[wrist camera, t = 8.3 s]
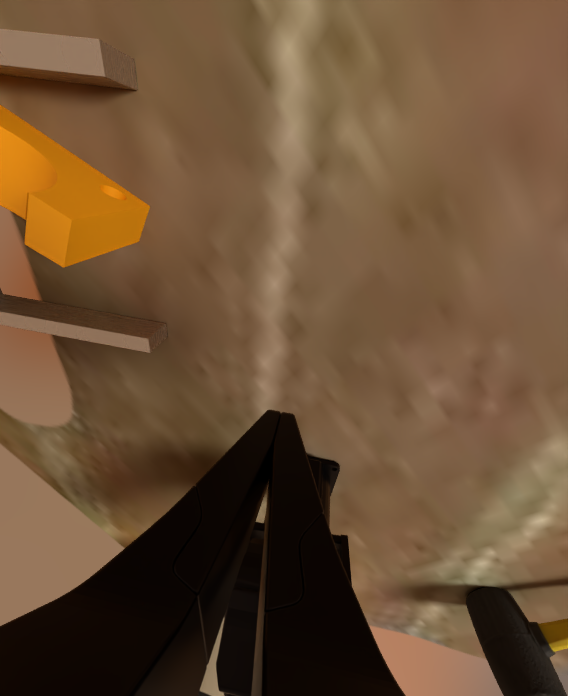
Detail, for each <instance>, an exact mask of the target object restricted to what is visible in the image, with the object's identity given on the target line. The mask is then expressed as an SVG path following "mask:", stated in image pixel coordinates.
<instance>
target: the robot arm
mask: <svg viewBox="0 0 568 696" xmlns="http://www.w3.org/2000/svg"><path fill="white" fill-rule="evenodd" d="M339 471H340V465H339V464H338V463H336V462H331V461H326V460H321V459H317V458H312V457H307V454H306V451H305V448H304V444H303V441H302V438H301V435H300V431H299V428H298V425H297V422H296V418H295V416H294V414H290V413H285V412H282V413H280V412H279V411H274V410H267V411H266V412H265V413H264V414H263V415H262V416H261V417H260V418H259V420H258V421H257V422H256V423H255V424H254V425H253V426H252V427H251V428H250V429H249V430H248V431H247V432H246V433H245V434H244V435H243V436H242V437H241V438H240V439H239V440H238V441H237V442H236V443H235V444H234V445H233V446H232V447H231V448H230V449H229V450H228V451H227V452H226V453H225V454H224V455H223V457H222V458H221V459H220V460H219V461H218V462H217V463H216V464H215V465H214V466H213V467H212V468H211V469H210V470H209V471H208V472H207V473H206V474H205V475H204V476H203V477H202V478H201V479H200V480H199V481H198V482H197V483H196V486H193V487H192V488H191V489H190V490H189V491H188V492H187V493H186V494H185V495H184V496H183V497H182V498H181V499H180V500H179V501H178V502H177V503H176V504H175V505H174V506H173V507H172V508H171V509H170V510H169V511H168V512H167V513H166V514H165V515H164V516H162V517H161V518H160V519H159V520H158V521H157V522H156V523H154V524H153V525H152V526H151V527H150V528H149V529H148V530H146V531H145V532H144V533H143V534H142V535H140V536H139V537H138V538H137V539H136V540H134V541H133V542H132V543H131V544H130V545H128V546H127V547H126V548H125V549H124V550H123V551H122V552H120V553H119V554H118V555H117V556H115V557H114V558H113V559H112V560H111V561H109V562H108V563H107V564H106V565H105V566H104V567H102V568H101V569H100V570H99V571H97V572H96V573H95V574H94V575H93V576H91V577H90V578H89V579H87V580H86V581H85V582H83V583H82V584H81V585H79V586H78V587H76V588H75V589H73V590H71V591H70V592H68V593H66V594H65V595H63V596H61V597H60V598H58V599H56V600H54V601H52V602H50V603H48V604H45V605H43V606H41V607H39V608H37V609H36V610H33V611H31V612H29V613H27V614H25V615H23V616H21V617H18V618H16V619H14V620H12V621H10V622H8V623H6V624H4V625H2V626H0V696H198V694H199V691H200V688H201V685H202V682H203V679H204V676H205V673H206V669H207V665H208V663H209V660H210V657H211V654H212V651H213V648H214V645H215V642H216V639H217V636H218V633H219V630H220V627H221V624H222V621H223V618H225V619H224V624H223V629H222V635H221V640H220V646H219V651H218V656H217V660H216V673H217V682H218V689H219V691H220V692H223V693H224V695H225V696H405V694H404V693H403V691H402V690H401V688H400V687H399V685H398V684H397V682H396V680H395V679H394V677H393V675H392V673H391V672H390V670H389V668H388V666H387V664H386V662H385V660H384V658H383V656H382V654H381V652H380V650H379V648H378V646H377V644H376V641H375V639H374V637H373V634H372V632H371V630H370V627H369V625H368V623H367V620H366V618H365V616H364V613H363V611H362V609H361V607H360V604H359V602H358V600H357V597H356V595H355V593H354V590H353V588H352V582H351V570H350V558H349V546H348V536H347V535H341V536H339V535H333V534H331V532H330V529H329V519H330V496H331V493H332V491H333V488H334V485H335V482H336V479H337V476H338V473H339ZM268 481H269V485H268ZM267 485H268V496H267V508H266V515H265V520H264V523H259V522H255V521H256V518H257V515H258V512H259V509H260V506H261V503H262V500H263V497H264V494H265V491H266V488H267Z"/></svg>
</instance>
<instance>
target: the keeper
mask: <svg viewBox="0 0 568 696" xmlns="http://www.w3.org/2000/svg"><path fill="white" fill-rule="evenodd" d="M0 74H2V75H11V76H19V77H28V78H36V79H45V80H54V81H62V82H71V83H79V84H88V85H97V86H105V87H114V88H122V89H131V90H138V89H137V81H136V73H135V65H134V59H133V58H131V57H130V56H128V55H126V54H124V53H123V52H121V51H119V50H117V49H116V48H114V47H112V46H110V45H108V44H107V43H105V42H103V41H101V40H100V39H93V38H83V37H74V36H64V35H54V34H45V33H35V32H25V31H16V30H6V29H0ZM0 325H4V326H10V327H15V328H20V329H26V330H31V331H36V332H41V333H47V334H52V335H57V336H63V337H68V338H73V339H79V340H84V341H89V342H95V343H100V344H105V345H111V346H116V347H121V348H127V349H132V350H137V351H143V352H148V353H151V352H152V351H153V350H154V349H155V348H156V347H157V346H158V345H159V344H160V343H161V342H162V341H163V340H164V339H165V338H166V337H168V336H167V328H166V323H162V322H156V321H151V320H145V319H139V318H134V317H128V316H122V315H117V314H111V313H106V312H100V311H94V310H89V309H83V308H78V307H72V306H66V305H61V304H55V303H50V302H44V301H38V300H33V299H27V298H22V297H16V296H10V295H4V294H2V291H1V289H0Z"/></svg>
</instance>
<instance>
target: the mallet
mask: <svg viewBox="0 0 568 696" xmlns="http://www.w3.org/2000/svg"><path fill="white" fill-rule="evenodd" d="M466 605H467V608H468V612H469V614H470V617H471V620H472V623H473V626H474V628H475V631H476V634H477V636H478V639H479V641H480V644H481V646H482V649H483V652H484V654H485V656H486V658H487V661H488V663H489V665H490V668H491V670H492V672H493V674H494V676H495V679H496V681H497V683H498V685H499V687H500V689H501V691H502V693H503V695H504V696H567V695H566V692H565V690H564V688H563V686H562V683H561V682H560V680H559V677H558V675H557V673H556V671H555V669H554V667H553V665H552V663H551V660H550V657H551V656H553V655H554V654H555V651H559V650H562V649H566V648H568V619H563V620H558V621H553V622H547V623H541V624H538V623H537V622H529V621H528V620H527V618H526V616H525V615H524V613H523V612H522V610H521V609H520V607H519V606H518V604H517V603H516V601H515V600H514V598H513V597H512V595H511V594H510V593H509V592H507V591H506V590H503V589H500V588H495V587H487V588H482V589H478V590H476V591H474V592H472V593H470V594H469V595H468V597H467V599H466Z"/></svg>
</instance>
